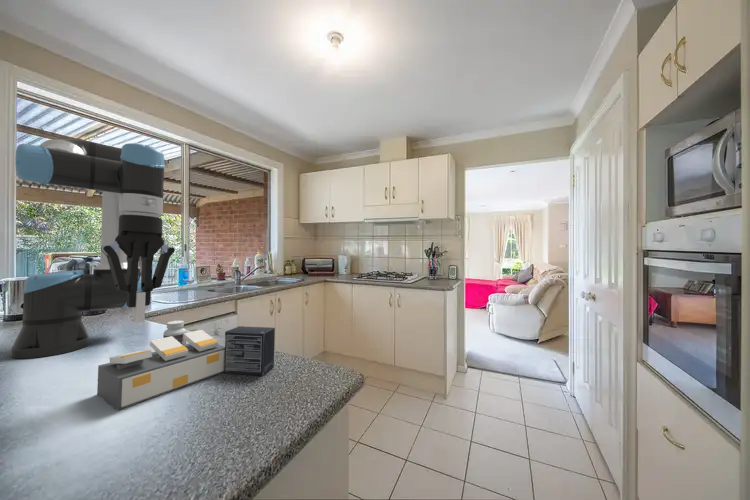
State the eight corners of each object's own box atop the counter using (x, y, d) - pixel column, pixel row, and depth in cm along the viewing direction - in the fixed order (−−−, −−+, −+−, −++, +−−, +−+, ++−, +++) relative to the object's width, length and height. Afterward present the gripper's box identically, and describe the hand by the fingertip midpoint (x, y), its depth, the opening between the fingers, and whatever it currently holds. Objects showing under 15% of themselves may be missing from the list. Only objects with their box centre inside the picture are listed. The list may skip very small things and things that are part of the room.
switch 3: (183, 338, 70) (183, 333, 70) (201, 333, 74) (202, 329, 74) (199, 351, 66) (200, 346, 66) (217, 346, 70) (218, 341, 70)
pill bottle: (187, 356, 80) (188, 322, 80) (164, 361, 76) (165, 325, 76) (183, 351, 84) (184, 319, 84) (161, 355, 80) (162, 321, 80)
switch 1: (109, 363, 58) (109, 356, 58) (135, 356, 62) (135, 350, 62) (124, 363, 54) (124, 356, 54) (151, 356, 58) (151, 350, 58)
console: (97, 394, 58) (98, 361, 58) (202, 362, 76) (203, 337, 76) (118, 411, 52) (119, 374, 52) (226, 371, 70) (227, 344, 70)
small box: (275, 366, 74) (276, 326, 75) (263, 376, 68) (264, 333, 68) (238, 363, 76) (239, 324, 76) (222, 373, 69) (223, 331, 69)
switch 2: (149, 345, 64) (150, 340, 64) (171, 340, 68) (172, 335, 68) (165, 361, 60) (166, 355, 60) (187, 354, 64) (188, 349, 64)
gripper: (108, 210, 55) (103, 330, 55) (182, 218, 66) (178, 318, 66) (96, 212, 59) (92, 324, 59) (167, 220, 70) (164, 314, 70)
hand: (138, 321), depth 62 cm, fingers closed
